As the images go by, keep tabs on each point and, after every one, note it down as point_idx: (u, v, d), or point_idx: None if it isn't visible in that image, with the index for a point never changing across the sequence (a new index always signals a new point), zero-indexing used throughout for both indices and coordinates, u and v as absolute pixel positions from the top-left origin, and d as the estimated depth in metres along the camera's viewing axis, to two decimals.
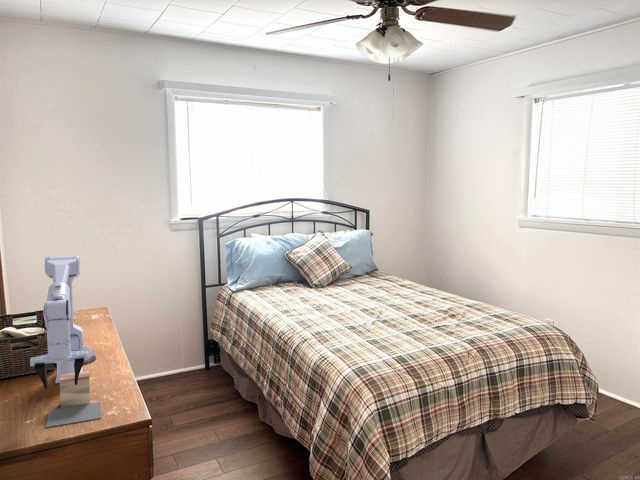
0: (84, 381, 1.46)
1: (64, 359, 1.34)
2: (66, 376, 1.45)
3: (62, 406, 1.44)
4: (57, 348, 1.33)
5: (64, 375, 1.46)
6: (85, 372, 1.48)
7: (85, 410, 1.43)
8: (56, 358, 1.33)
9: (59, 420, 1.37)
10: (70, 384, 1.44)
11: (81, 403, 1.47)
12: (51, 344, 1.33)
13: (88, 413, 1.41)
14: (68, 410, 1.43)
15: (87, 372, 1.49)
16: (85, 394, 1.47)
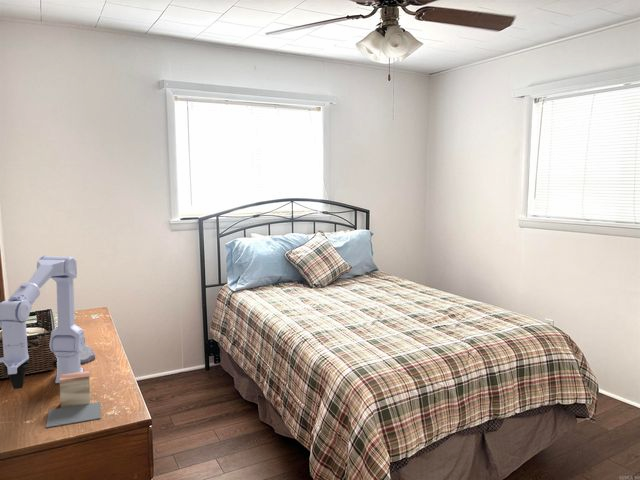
0: (84, 381, 1.46)
1: (3, 361, 1.31)
2: (66, 376, 1.45)
3: (62, 406, 1.44)
4: None
5: (64, 375, 1.46)
6: (85, 372, 1.48)
7: (85, 410, 1.43)
8: None
9: (59, 420, 1.37)
10: (70, 384, 1.44)
11: (81, 403, 1.47)
12: None
13: (88, 413, 1.41)
14: (68, 410, 1.43)
15: (87, 372, 1.49)
16: (85, 394, 1.47)
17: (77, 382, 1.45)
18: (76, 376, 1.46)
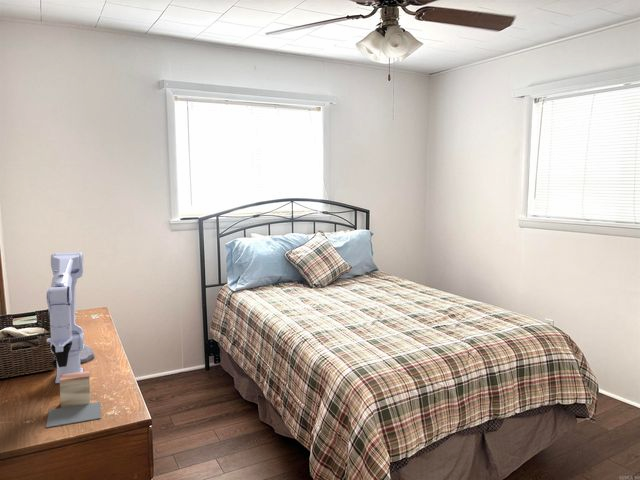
0: (84, 381, 1.46)
1: (50, 341, 1.46)
2: (66, 376, 1.45)
3: (62, 406, 1.44)
4: None
5: (64, 375, 1.46)
6: (85, 372, 1.48)
7: (85, 410, 1.43)
8: None
9: (59, 420, 1.37)
10: (70, 384, 1.44)
11: (81, 403, 1.47)
12: None
13: (88, 413, 1.41)
14: (68, 410, 1.43)
15: (87, 372, 1.49)
16: (85, 394, 1.47)
17: (77, 382, 1.45)
18: (76, 376, 1.46)
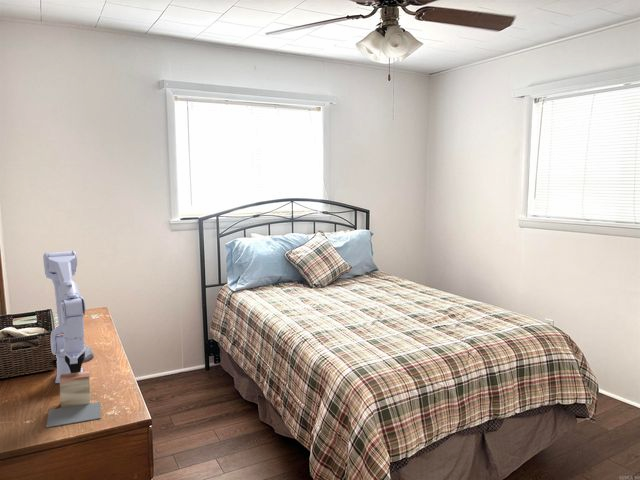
0: (84, 381, 1.46)
1: (64, 352, 1.48)
2: (66, 376, 1.45)
3: (62, 406, 1.44)
4: (64, 340, 1.48)
5: (64, 375, 1.46)
6: (85, 372, 1.48)
7: (85, 410, 1.43)
8: None
9: (59, 420, 1.37)
10: (70, 384, 1.44)
11: (81, 403, 1.47)
12: None
13: (88, 413, 1.41)
14: (68, 410, 1.43)
15: (87, 372, 1.49)
16: (85, 394, 1.47)
17: (77, 382, 1.45)
18: (76, 376, 1.46)
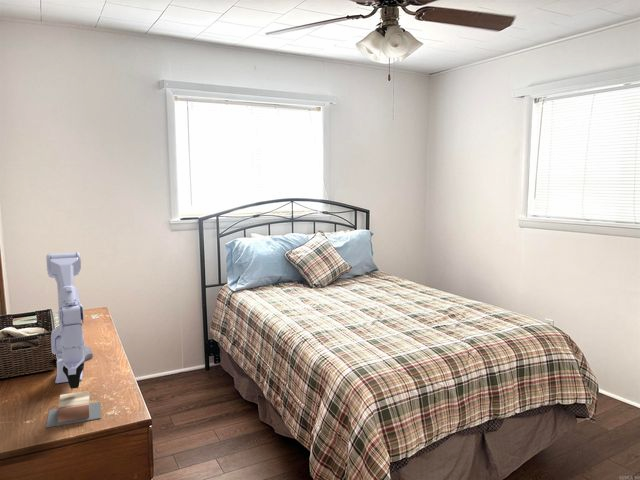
0: None
1: (62, 362, 1.41)
2: (64, 414, 1.37)
3: None
4: (62, 350, 1.41)
5: (62, 412, 1.36)
6: (85, 408, 1.39)
7: None
8: None
9: None
10: None
11: None
12: None
13: None
14: None
15: (87, 408, 1.39)
16: None
17: None
18: (75, 416, 1.38)
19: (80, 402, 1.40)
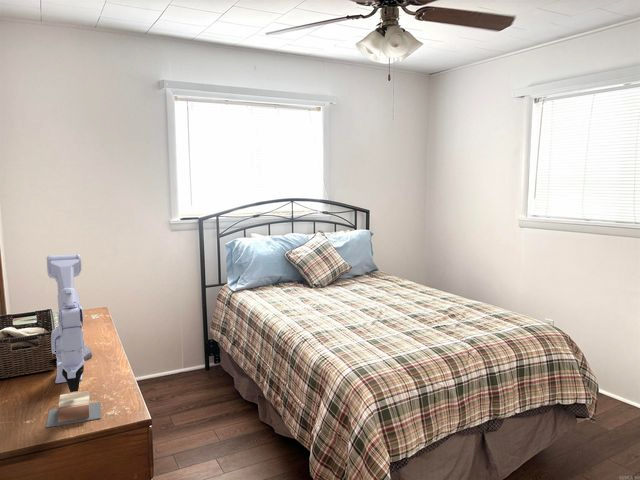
0: None
1: (62, 366, 1.38)
2: (64, 414, 1.37)
3: None
4: (61, 353, 1.39)
5: (62, 412, 1.36)
6: (85, 408, 1.39)
7: None
8: None
9: None
10: None
11: None
12: None
13: None
14: None
15: (87, 408, 1.39)
16: None
17: None
18: (75, 416, 1.38)
19: (80, 402, 1.40)
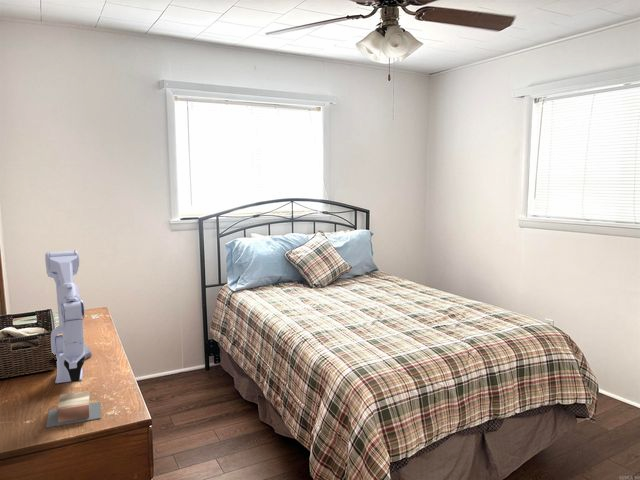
0: None
1: (63, 357, 1.45)
2: (64, 414, 1.37)
3: None
4: (63, 344, 1.45)
5: (62, 412, 1.36)
6: (85, 408, 1.39)
7: None
8: None
9: None
10: None
11: None
12: None
13: None
14: None
15: (87, 408, 1.39)
16: None
17: None
18: (75, 416, 1.38)
19: (80, 402, 1.40)
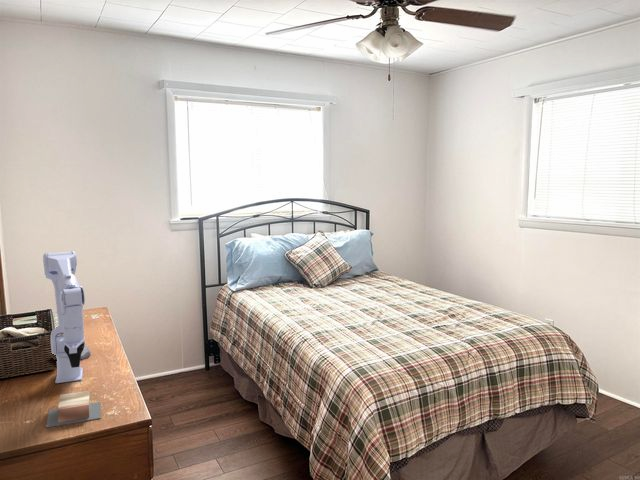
0: None
1: (64, 342, 1.47)
2: (64, 414, 1.37)
3: None
4: (63, 330, 1.48)
5: (62, 412, 1.36)
6: (85, 408, 1.39)
7: None
8: None
9: None
10: None
11: None
12: None
13: None
14: None
15: (87, 408, 1.39)
16: None
17: None
18: (75, 416, 1.38)
19: (80, 402, 1.40)
